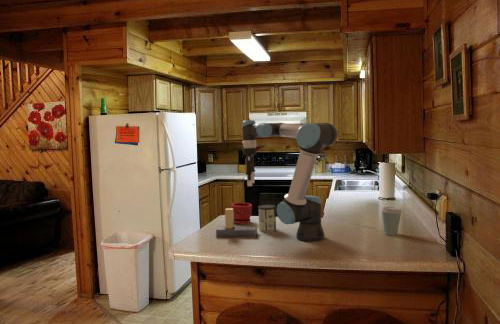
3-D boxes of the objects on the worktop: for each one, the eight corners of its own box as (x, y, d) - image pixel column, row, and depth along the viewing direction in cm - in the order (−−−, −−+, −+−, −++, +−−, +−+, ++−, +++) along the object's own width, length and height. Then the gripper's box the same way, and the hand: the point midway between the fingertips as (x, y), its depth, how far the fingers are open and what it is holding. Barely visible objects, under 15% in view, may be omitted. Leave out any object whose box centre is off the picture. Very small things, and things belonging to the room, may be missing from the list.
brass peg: (234, 234, 241) (233, 208, 240) (232, 236, 237) (232, 209, 236) (227, 234, 241) (226, 208, 240) (225, 235, 237) (225, 209, 236)
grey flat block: (257, 233, 241) (257, 226, 241) (255, 237, 233) (255, 230, 233) (219, 233, 244) (219, 226, 244) (216, 236, 236) (216, 229, 236)
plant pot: (243, 225, 260) (243, 206, 259) (227, 223, 268) (227, 204, 267) (256, 221, 271) (256, 203, 270) (240, 219, 279) (239, 201, 278)
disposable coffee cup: (386, 230, 240) (387, 204, 239) (405, 233, 232) (405, 207, 231) (377, 234, 233) (377, 207, 231) (396, 237, 225) (396, 210, 224)
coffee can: (266, 226, 256) (266, 203, 255) (279, 229, 249) (279, 205, 248) (255, 230, 249) (254, 206, 248) (268, 232, 242) (267, 208, 241)
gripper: (245, 146, 254) (246, 181, 256) (240, 148, 230) (241, 187, 231) (258, 146, 254) (259, 181, 255) (254, 148, 229) (255, 187, 231)
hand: (251, 184), depth 243 cm, fingers open, 13 cm apart
